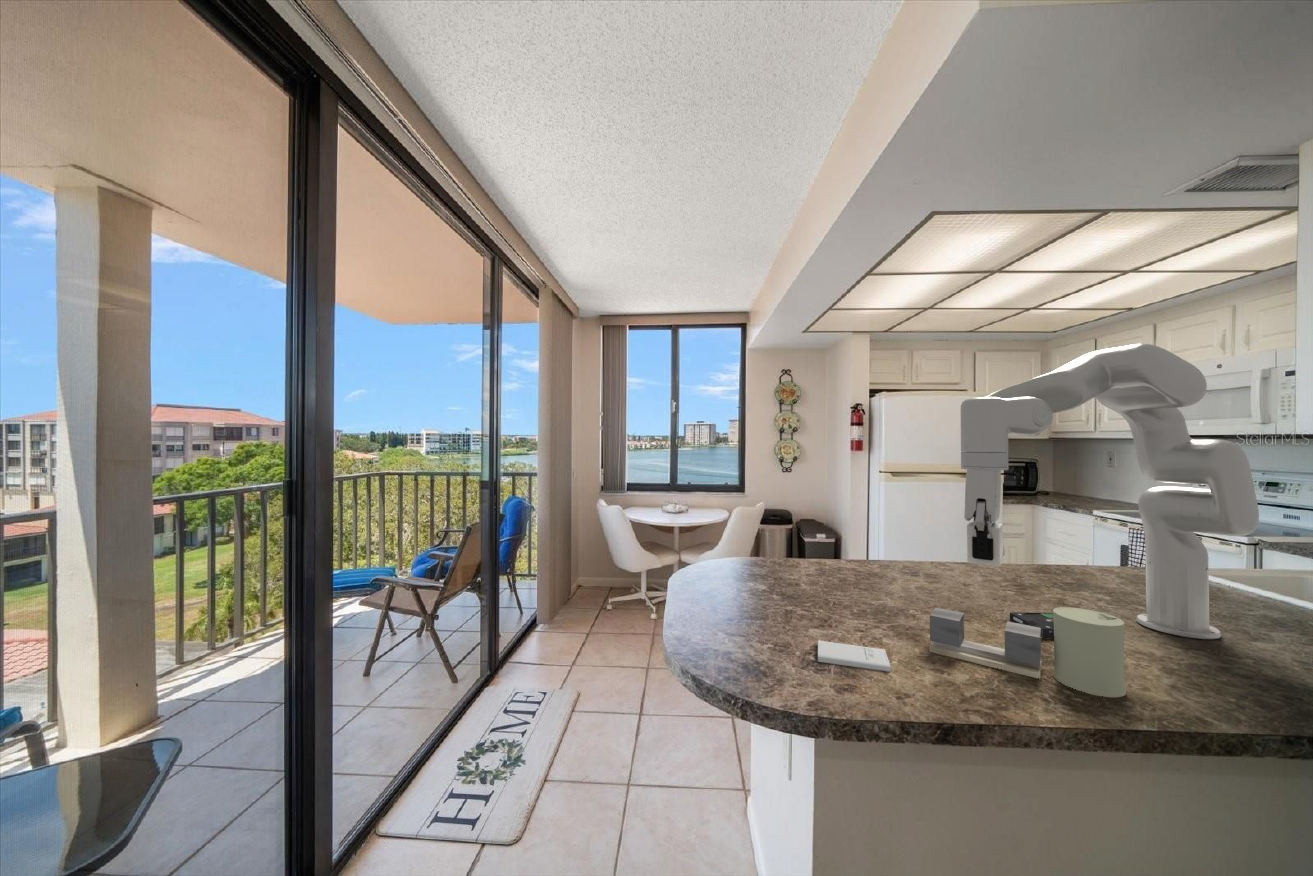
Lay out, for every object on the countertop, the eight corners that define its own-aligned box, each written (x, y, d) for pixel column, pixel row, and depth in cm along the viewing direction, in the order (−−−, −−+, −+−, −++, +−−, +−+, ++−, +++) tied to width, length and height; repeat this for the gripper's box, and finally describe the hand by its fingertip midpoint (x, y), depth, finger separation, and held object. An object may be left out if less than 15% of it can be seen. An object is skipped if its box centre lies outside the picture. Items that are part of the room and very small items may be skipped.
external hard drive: (817, 647, 97) (884, 656, 93) (817, 664, 89) (890, 675, 85) (817, 639, 97) (884, 648, 93) (817, 655, 89) (890, 665, 85)
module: (971, 556, 95) (971, 520, 95) (1002, 560, 92) (1002, 523, 92) (967, 562, 90) (967, 524, 90) (999, 566, 87) (999, 527, 87)
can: (1142, 700, 76) (1140, 624, 76) (1076, 695, 78) (1075, 621, 78) (1099, 673, 85) (1098, 605, 85) (1041, 669, 87) (1040, 602, 87)
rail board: (936, 640, 99) (936, 606, 99) (1041, 665, 88) (1040, 627, 88) (929, 651, 94) (929, 615, 94) (1040, 679, 83) (1039, 638, 83)
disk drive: (1043, 642, 100) (1115, 642, 100) (1043, 629, 100) (1115, 629, 100) (1008, 624, 110) (1074, 624, 110) (1008, 611, 110) (1073, 611, 110)
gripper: (967, 460, 100) (968, 546, 100) (953, 462, 87) (954, 561, 87) (1011, 461, 96) (1012, 551, 95) (1004, 463, 82) (1005, 568, 82)
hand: (984, 555), depth 91 cm, fingers closed on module, 6 cm apart
